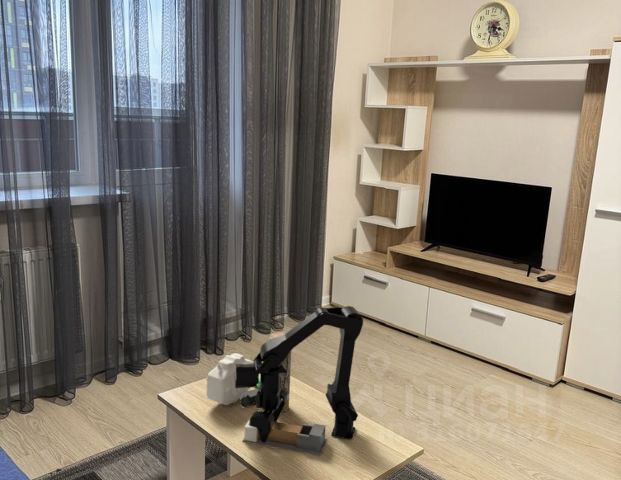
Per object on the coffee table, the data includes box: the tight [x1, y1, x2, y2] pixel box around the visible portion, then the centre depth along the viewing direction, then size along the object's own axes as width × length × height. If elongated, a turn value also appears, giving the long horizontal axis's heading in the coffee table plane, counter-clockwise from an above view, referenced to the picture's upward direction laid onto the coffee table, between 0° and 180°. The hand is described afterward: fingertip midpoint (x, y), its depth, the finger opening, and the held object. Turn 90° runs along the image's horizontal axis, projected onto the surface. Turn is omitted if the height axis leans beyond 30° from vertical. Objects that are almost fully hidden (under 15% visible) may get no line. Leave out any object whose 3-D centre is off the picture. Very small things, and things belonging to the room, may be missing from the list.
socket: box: [243, 418, 258, 442], centre depth 175 cm, size 7×4×4 cm, turn 167°
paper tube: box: [269, 332, 292, 413], centre depth 189 cm, size 7×7×25 cm
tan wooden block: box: [258, 421, 303, 445], centre depth 173 cm, size 4×15×4 cm, turn 77°
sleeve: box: [297, 423, 326, 452], centre depth 171 cm, size 6×7×5 cm
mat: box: [242, 438, 327, 457], centre depth 173 cm, size 8×24×1 cm, turn 77°
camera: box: [206, 353, 254, 406], centre depth 193 cm, size 11×18×16 cm, turn 148°
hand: (268, 433), depth 174 cm, fingers open, 9 cm apart
